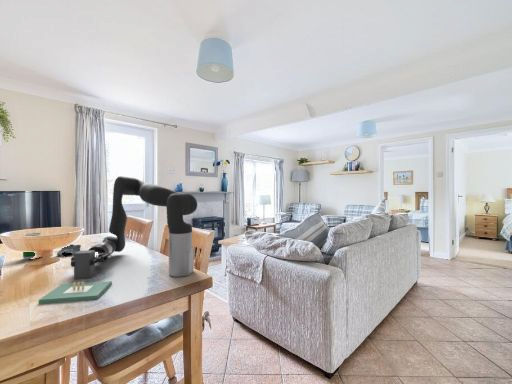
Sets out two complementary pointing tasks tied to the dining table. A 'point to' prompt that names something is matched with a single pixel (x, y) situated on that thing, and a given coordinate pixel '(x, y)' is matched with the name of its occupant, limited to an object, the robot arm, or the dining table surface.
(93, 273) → the block
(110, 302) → the dining table surface
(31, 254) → the soda can
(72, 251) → the electronic device
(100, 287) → the pin board
